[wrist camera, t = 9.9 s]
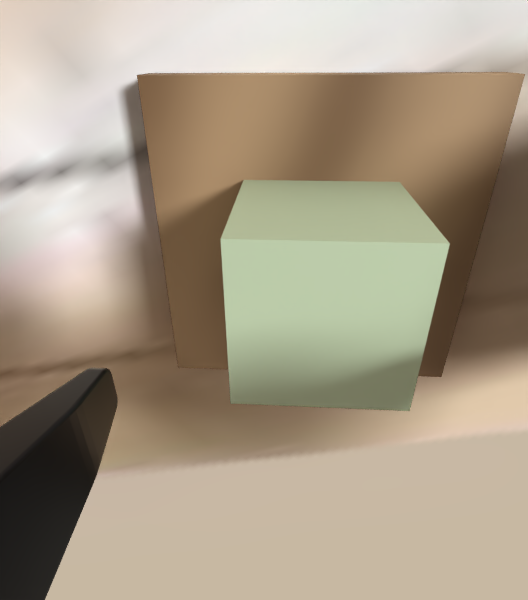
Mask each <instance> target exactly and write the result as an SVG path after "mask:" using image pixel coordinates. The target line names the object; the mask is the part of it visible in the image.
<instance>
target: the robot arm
mask: <svg viewBox="0 0 528 600" xmlns="http://www.w3.org/2000/svg"><path fill="white" fill-rule="evenodd" d="M116 408H117V394H116V390H115V386H114V382H113V378H112V374H111V372H110V370H109V369H107V368H89V369H87V370H85V371H84V372H82V373H81V374H79V375H78V376H76V377H75V378H73V379H72V380H70V381H69V382H67V383H66V384H64V385H62V386H61V387H59V388H58V389H56V390H55V391H53V392H52V393H50V394H49V395H47V396H46V397H44V398H43V399H41V400H40V401H38V402H37V403H35V404H34V405H32V406H31V407H29V408H28V409H26V410H25V411H23V412H22V413H20V414H19V415H17V416H16V417H14V418H13V419H11V420H10V421H8V422H7V423H5V424H4V425H2V426H1V427H0V600H45V598H46V596H47V593H48V591H49V588H50V586H51V584H52V581H53V579H54V577H55V574H56V572H57V569H58V567H59V565H60V562H61V560H62V557H63V555H64V553H65V550H66V548H67V545H68V543H69V541H70V538H71V535H72V533H73V531H74V528H75V526H76V524H77V521H78V519H79V517H80V514H81V512H82V510H83V507H84V505H85V502H86V500H87V498H88V495H89V492H90V490H91V488H92V485H93V483H94V480H95V478H96V475H97V472H98V469H99V466H100V463H101V460H102V456H103V453H104V449H105V446H106V443H107V439H108V436H109V432H110V429H111V426H112V422H113V419H114V415H115V412H116Z"/></svg>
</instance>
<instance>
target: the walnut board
mask: <svg viewBox="0 0 528 600" xmlns="http://www.w3.org/2000/svg"><path fill="white" fill-rule="evenodd" d="M524 76H525V74H519V73H508V72H434V73H148V74H142V75H137V79H138V86H139V93H140V100H141V107H142V114H143V121H144V128H145V135H146V142H147V150H148V157H149V164H150V171H151V178H152V185H153V192H154V199H155V206H156V213H157V220H158V227H159V235H160V242H161V249H162V256H163V263H164V270H165V277H166V284H167V291H168V298H169V305H170V312H171V320H172V327H173V334H174V341H175V348H176V355H177V362H178V367H182V368H210V369H228V353H227V337H226V321H225V304H224V288H223V271H222V255H221V237H222V234H223V231H224V229H225V226H226V224H227V221H228V219H229V216H230V214H231V211H232V208H233V206H234V203H235V201H236V198H237V196H238V193H239V190H240V188H241V185H242V183H243V180H291V181H371V182H400V183H401V184H402V185H403V187H404V188H405V189H406V190H407V192H408V193H409V194H410V195H411V196H412V198H413V199H414V200H415V201H416V203H417V204H418V205H419V206H420V208H421V209H422V210H423V211H424V212H425V214H426V215H427V216H428V217H429V219H430V220H431V221H432V222H433V223H434V225H435V226H436V227H437V228H438V230H439V231H440V232H441V233H442V235H443V236H444V237H445V238H446V239H447V241H448V242H449V243H450V245H449V249H448V254H447V258H446V262H445V266H444V270H443V274H442V278H441V283H440V287H439V291H438V295H437V299H436V303H435V308H434V312H433V316H432V320H431V324H430V328H429V332H428V337H427V341H426V345H425V349H424V353H423V357H422V362H421V366H420V370H419V374H418V376H431V377H441V376H442V373H443V369H444V365H445V362H446V358H447V354H448V351H449V347H450V344H451V340H452V336H453V333H454V329H455V326H456V322H457V318H458V315H459V311H460V307H461V304H462V300H463V297H464V293H465V289H466V286H467V282H468V278H469V275H470V271H471V268H472V264H473V260H474V257H475V253H476V250H477V246H478V242H479V239H480V235H481V231H482V228H483V224H484V221H485V217H486V213H487V210H488V206H489V202H490V199H491V195H492V192H493V188H494V184H495V181H496V177H497V174H498V170H499V166H500V163H501V159H502V155H503V152H504V148H505V145H506V141H507V137H508V134H509V130H510V126H511V123H512V119H513V116H514V112H515V108H516V105H517V101H518V97H519V94H520V90H521V87H522V83H523V79H524Z"/></svg>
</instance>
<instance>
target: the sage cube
mask: <svg viewBox="0 0 528 600" xmlns="http://www.w3.org/2000/svg"><path fill="white" fill-rule="evenodd" d="M449 245H450V243H449V242H448V241H447V239H446V238H445V237H444V236H443V235H442V233H441V232H440V231H439V230H438V228H437V227H436V226H435V225H434V223H433V222H432V221H431V220H430V219H429V217H428V216H427V215H426V214H425V212H424V211H423V210H422V209H421V208H420V206H419V205H418V204H417V203H416V201H415V200H414V199H413V198H412V196H411V195H410V194H409V193H408V192H407V190H406V189H405V188H404V187H403V185H402V184H401V183H400V182H371V181H291V180H243V183H242V185H241V188H240V190H239V193H238V196H237V198H236V201H235V203H234V206H233V208H232V211H231V214H230V216H229V219H228V221H227V224H226V226H225V229H224V231H223V234H222V237H221V255H222V271H223V288H224V304H225V321H226V337H227V353H228V370H229V386H230V403H231V404H255V405H279V406H303V407H326V408H350V409H374V410H398V411H410V407H411V403H412V399H413V395H414V391H415V386H416V382H417V378H418V374H419V370H420V366H421V362H422V357H423V353H424V349H425V345H426V341H427V337H428V332H429V328H430V324H431V320H432V316H433V312H434V308H435V303H436V299H437V295H438V291H439V287H440V283H441V278H442V274H443V270H444V266H445V262H446V258H447V254H448V249H449Z"/></svg>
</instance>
